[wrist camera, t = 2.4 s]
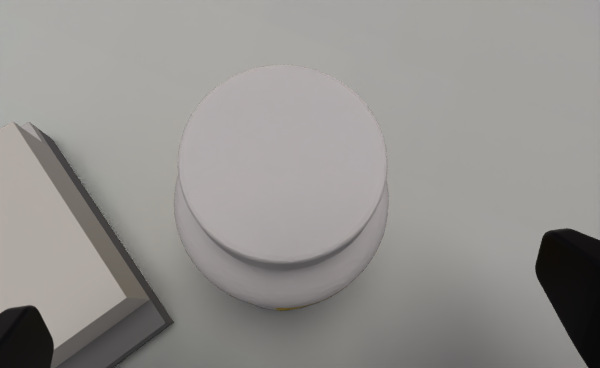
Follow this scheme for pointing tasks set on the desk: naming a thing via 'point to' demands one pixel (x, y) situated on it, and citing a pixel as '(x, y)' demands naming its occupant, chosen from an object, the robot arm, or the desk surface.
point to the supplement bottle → (281, 186)
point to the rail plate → (67, 258)
